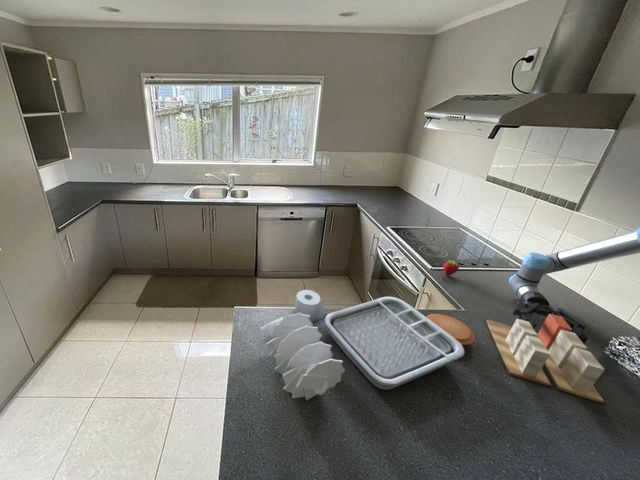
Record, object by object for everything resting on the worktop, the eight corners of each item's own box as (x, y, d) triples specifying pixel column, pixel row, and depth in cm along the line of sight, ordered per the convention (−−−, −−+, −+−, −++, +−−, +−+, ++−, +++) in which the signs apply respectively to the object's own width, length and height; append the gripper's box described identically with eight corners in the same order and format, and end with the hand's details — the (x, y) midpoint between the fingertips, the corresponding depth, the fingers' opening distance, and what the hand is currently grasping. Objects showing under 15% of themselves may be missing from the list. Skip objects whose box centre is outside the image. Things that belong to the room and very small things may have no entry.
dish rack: (316, 330, 105) (318, 313, 102) (389, 308, 118) (394, 292, 115) (378, 408, 78) (384, 389, 75) (465, 369, 91) (473, 351, 88)
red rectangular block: (537, 334, 105) (549, 313, 101) (549, 337, 104) (561, 316, 100) (545, 347, 99) (558, 326, 95) (558, 351, 98) (572, 329, 94)
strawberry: (458, 277, 142) (464, 260, 138) (448, 280, 139) (455, 263, 135) (446, 271, 147) (452, 254, 143) (437, 274, 144) (443, 257, 140)
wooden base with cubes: (486, 321, 112) (496, 299, 108) (517, 329, 109) (528, 307, 104) (509, 374, 90) (523, 348, 86) (549, 386, 86) (566, 360, 82)
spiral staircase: (291, 349, 101) (331, 413, 79) (250, 343, 93) (281, 413, 71) (314, 307, 98) (362, 362, 76) (273, 297, 90) (313, 355, 68)
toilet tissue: (330, 315, 113) (333, 298, 109) (303, 325, 107) (305, 307, 104) (316, 302, 120) (318, 285, 117) (290, 310, 114) (291, 293, 111)
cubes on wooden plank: (523, 331, 108) (535, 308, 104) (557, 340, 104) (571, 317, 100) (557, 389, 86) (575, 363, 81) (602, 403, 82) (623, 376, 78)
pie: (477, 357, 96) (483, 346, 94) (427, 344, 100) (430, 333, 98) (464, 327, 109) (468, 317, 107) (419, 316, 114) (423, 306, 112)
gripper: (568, 315, 112) (602, 354, 94) (492, 298, 121) (509, 330, 103) (577, 300, 109) (613, 338, 91) (499, 283, 118) (518, 314, 100)
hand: (558, 334), depth 97 cm, fingers open, 13 cm apart
